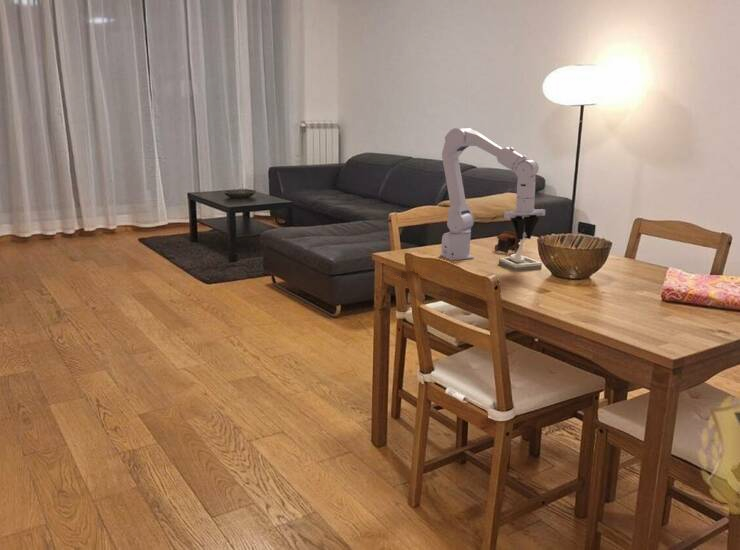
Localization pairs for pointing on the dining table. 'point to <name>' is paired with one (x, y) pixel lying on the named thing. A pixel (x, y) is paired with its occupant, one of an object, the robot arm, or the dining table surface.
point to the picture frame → (520, 264)
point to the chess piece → (519, 251)
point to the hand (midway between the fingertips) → (523, 238)
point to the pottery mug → (507, 242)
